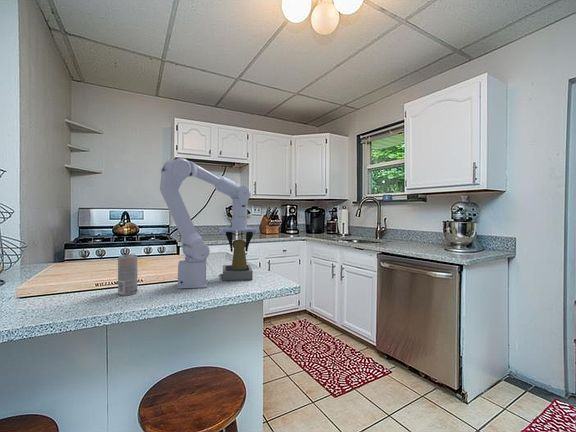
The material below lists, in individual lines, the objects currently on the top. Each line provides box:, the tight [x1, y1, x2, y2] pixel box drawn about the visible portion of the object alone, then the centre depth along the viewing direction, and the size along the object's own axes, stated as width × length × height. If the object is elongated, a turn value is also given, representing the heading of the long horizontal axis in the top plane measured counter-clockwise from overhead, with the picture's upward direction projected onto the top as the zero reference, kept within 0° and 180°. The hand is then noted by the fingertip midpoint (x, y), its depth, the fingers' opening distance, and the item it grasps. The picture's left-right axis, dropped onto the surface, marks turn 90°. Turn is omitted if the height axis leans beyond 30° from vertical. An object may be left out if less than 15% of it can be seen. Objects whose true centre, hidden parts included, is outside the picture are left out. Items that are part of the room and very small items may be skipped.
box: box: [222, 264, 254, 282], centre depth 113 cm, size 11×11×4 cm
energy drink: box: [117, 253, 138, 297], centre depth 90 cm, size 5×5×12 cm
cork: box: [231, 239, 248, 269], centre depth 111 cm, size 6×6×11 cm
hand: (239, 251), depth 112 cm, fingers closed on cork, 5 cm apart
